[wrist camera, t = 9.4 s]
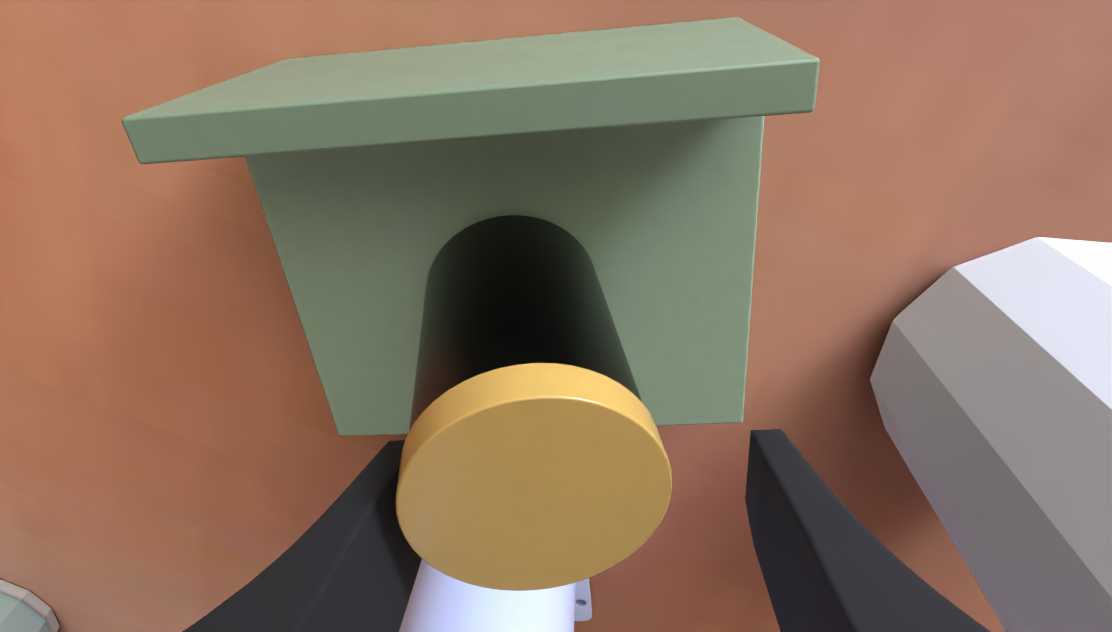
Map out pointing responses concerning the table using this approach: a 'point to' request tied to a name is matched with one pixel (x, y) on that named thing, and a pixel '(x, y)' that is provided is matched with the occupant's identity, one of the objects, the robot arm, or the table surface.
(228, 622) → the robot arm
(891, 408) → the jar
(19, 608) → the disposable coffee cup
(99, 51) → the table surface
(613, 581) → the table surface
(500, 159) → the shelf
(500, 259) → the canister
